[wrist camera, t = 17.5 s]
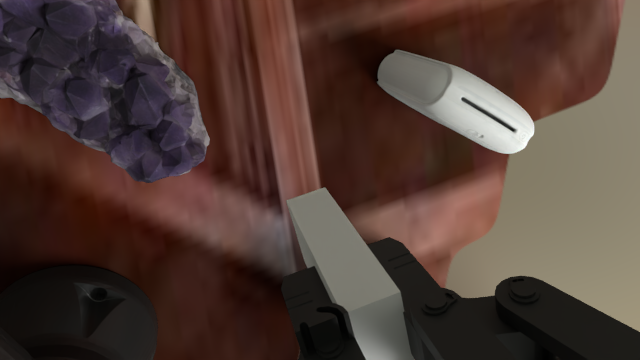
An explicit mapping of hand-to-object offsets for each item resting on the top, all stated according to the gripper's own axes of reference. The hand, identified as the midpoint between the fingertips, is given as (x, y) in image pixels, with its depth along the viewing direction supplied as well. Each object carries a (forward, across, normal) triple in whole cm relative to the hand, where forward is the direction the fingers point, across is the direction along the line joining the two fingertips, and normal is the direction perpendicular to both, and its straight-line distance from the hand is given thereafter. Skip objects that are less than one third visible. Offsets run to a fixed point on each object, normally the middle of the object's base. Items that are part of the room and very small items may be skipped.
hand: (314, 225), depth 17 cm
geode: (+27, -10, +5) cm, 29 cm away
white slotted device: (+27, +17, -5) cm, 32 cm away
